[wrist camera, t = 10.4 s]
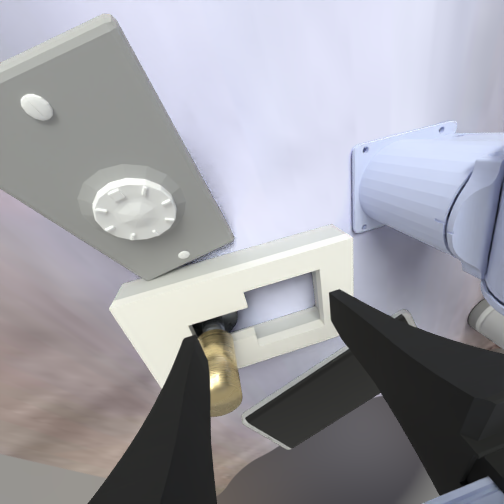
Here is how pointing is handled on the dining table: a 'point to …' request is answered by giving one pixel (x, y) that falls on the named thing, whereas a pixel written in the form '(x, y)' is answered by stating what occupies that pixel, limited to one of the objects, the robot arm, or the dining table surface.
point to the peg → (221, 362)
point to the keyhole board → (237, 298)
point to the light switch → (103, 152)
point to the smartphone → (315, 398)
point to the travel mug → (488, 322)
